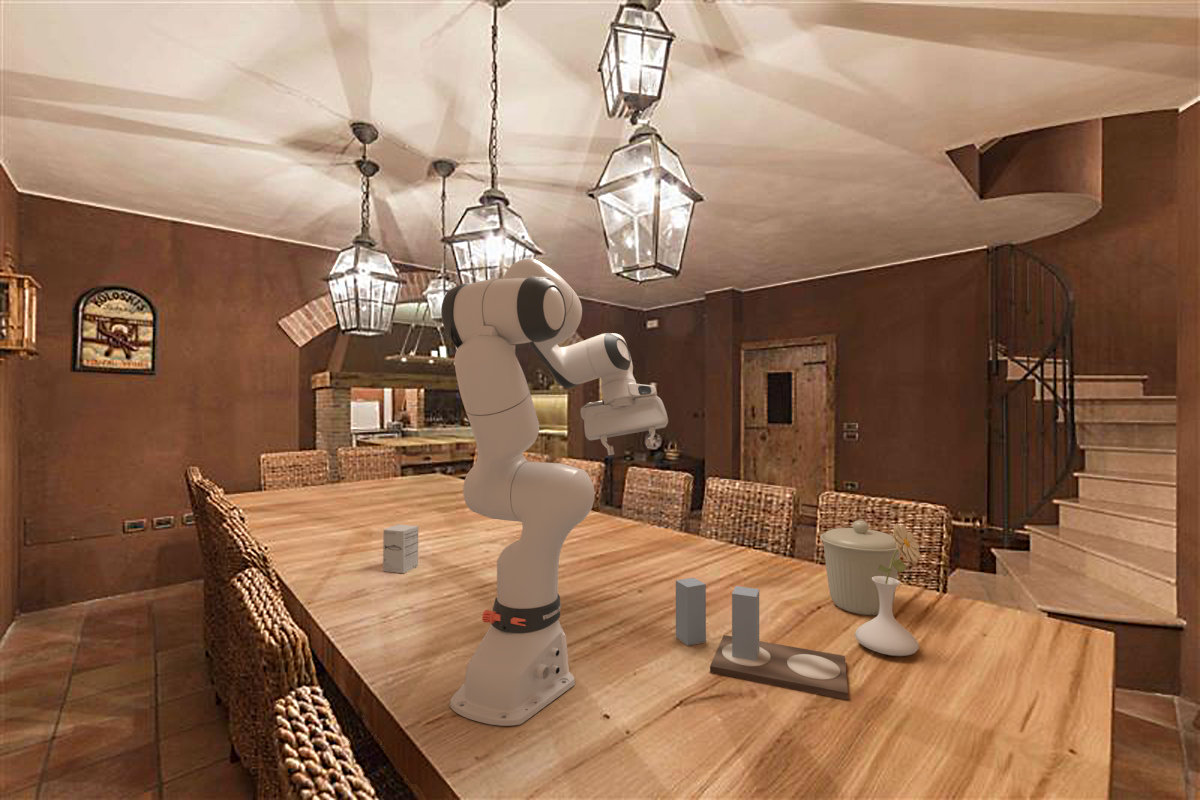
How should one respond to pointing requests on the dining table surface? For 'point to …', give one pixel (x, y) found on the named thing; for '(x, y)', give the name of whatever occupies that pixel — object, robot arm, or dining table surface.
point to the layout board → (786, 668)
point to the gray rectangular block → (691, 611)
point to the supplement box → (400, 548)
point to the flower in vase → (890, 605)
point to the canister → (857, 566)
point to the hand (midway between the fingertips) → (630, 450)
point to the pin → (745, 623)
